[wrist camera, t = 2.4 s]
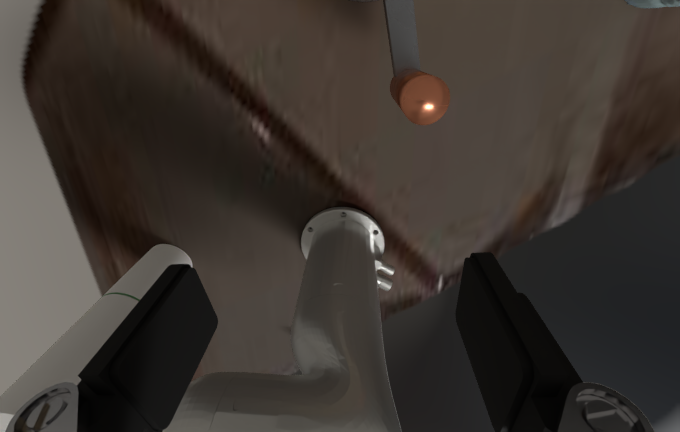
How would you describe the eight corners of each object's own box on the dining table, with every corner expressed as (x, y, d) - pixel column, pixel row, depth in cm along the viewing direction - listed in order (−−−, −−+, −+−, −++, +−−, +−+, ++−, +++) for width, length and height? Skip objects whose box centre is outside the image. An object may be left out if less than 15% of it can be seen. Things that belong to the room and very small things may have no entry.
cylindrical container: (166, 281, 51) (27, 454, 29) (139, 250, 48) (-40, 418, 26) (200, 271, 49) (79, 446, 28) (175, 238, 46) (15, 407, 25)
